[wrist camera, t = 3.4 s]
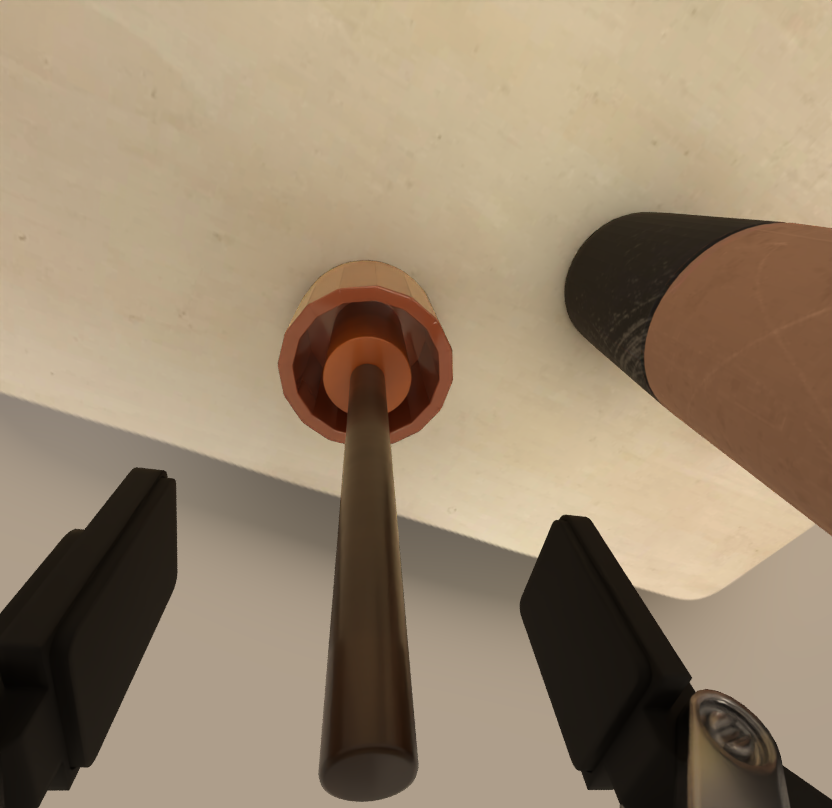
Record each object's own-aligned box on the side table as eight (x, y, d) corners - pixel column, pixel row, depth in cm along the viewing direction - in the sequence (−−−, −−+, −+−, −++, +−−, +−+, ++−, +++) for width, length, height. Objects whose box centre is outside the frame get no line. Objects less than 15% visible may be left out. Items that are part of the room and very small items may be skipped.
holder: (270, 337, 25) (243, 384, 19) (356, 228, 23) (353, 246, 17) (376, 414, 27) (378, 473, 22) (461, 322, 25) (487, 363, 20)
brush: (318, 337, 24) (181, 804, 6) (362, 284, 23) (346, 661, 5) (372, 378, 25) (384, 861, 8) (416, 329, 24) (548, 753, 7)
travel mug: (671, 353, 27) (1250, 701, 9) (545, 346, 26) (922, 717, 8) (720, 212, 24) (1768, 333, 6) (577, 199, 23) (1319, 294, 5)
